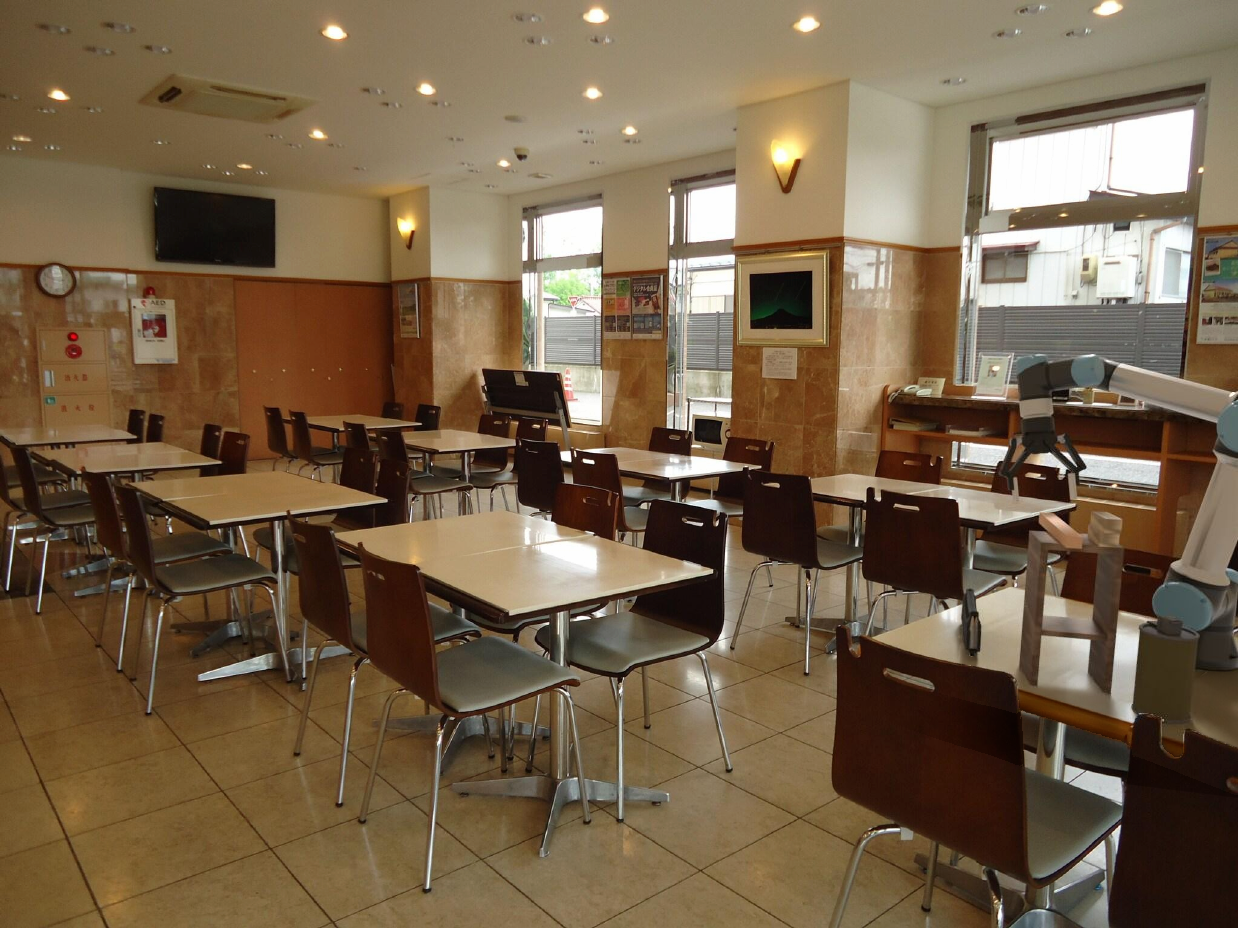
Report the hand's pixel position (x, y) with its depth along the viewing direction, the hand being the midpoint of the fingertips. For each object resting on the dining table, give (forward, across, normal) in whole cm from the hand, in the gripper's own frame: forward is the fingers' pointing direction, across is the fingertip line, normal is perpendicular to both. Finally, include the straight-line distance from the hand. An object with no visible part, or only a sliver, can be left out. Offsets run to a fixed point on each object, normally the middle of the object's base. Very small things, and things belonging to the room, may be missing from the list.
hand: (1044, 501), depth 221 cm
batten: (+7, +5, +25) cm, 26 cm away
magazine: (+34, +21, 0) cm, 40 cm away
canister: (+43, -7, +39) cm, 59 cm away
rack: (+39, +7, +23) cm, 46 cm away
